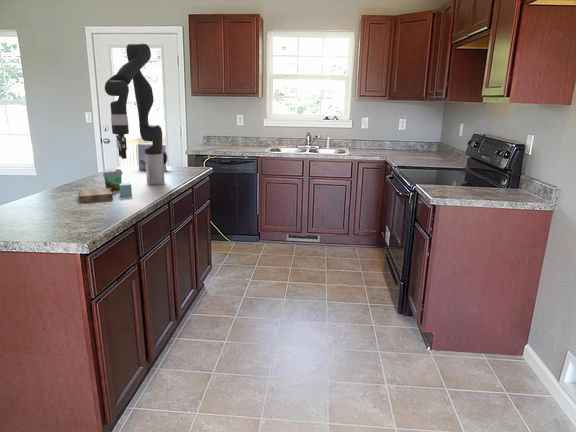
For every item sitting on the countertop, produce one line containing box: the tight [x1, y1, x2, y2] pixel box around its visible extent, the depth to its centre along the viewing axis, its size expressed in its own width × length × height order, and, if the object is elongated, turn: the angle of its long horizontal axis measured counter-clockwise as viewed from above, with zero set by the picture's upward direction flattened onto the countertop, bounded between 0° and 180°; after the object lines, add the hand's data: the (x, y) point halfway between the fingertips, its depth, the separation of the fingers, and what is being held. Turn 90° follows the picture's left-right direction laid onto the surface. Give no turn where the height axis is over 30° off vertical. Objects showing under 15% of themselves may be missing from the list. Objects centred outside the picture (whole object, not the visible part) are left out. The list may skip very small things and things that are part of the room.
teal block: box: [119, 182, 133, 198], centre depth 210 cm, size 5×5×6 cm
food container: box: [102, 168, 124, 192], centre depth 224 cm, size 12×6×10 cm, turn 168°
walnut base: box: [78, 188, 114, 203], centre depth 204 cm, size 14×14×3 cm
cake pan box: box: [137, 143, 168, 171], centre depth 286 cm, size 19×5×18 cm, turn 84°
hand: (122, 157), depth 206 cm, fingers open, 8 cm apart
